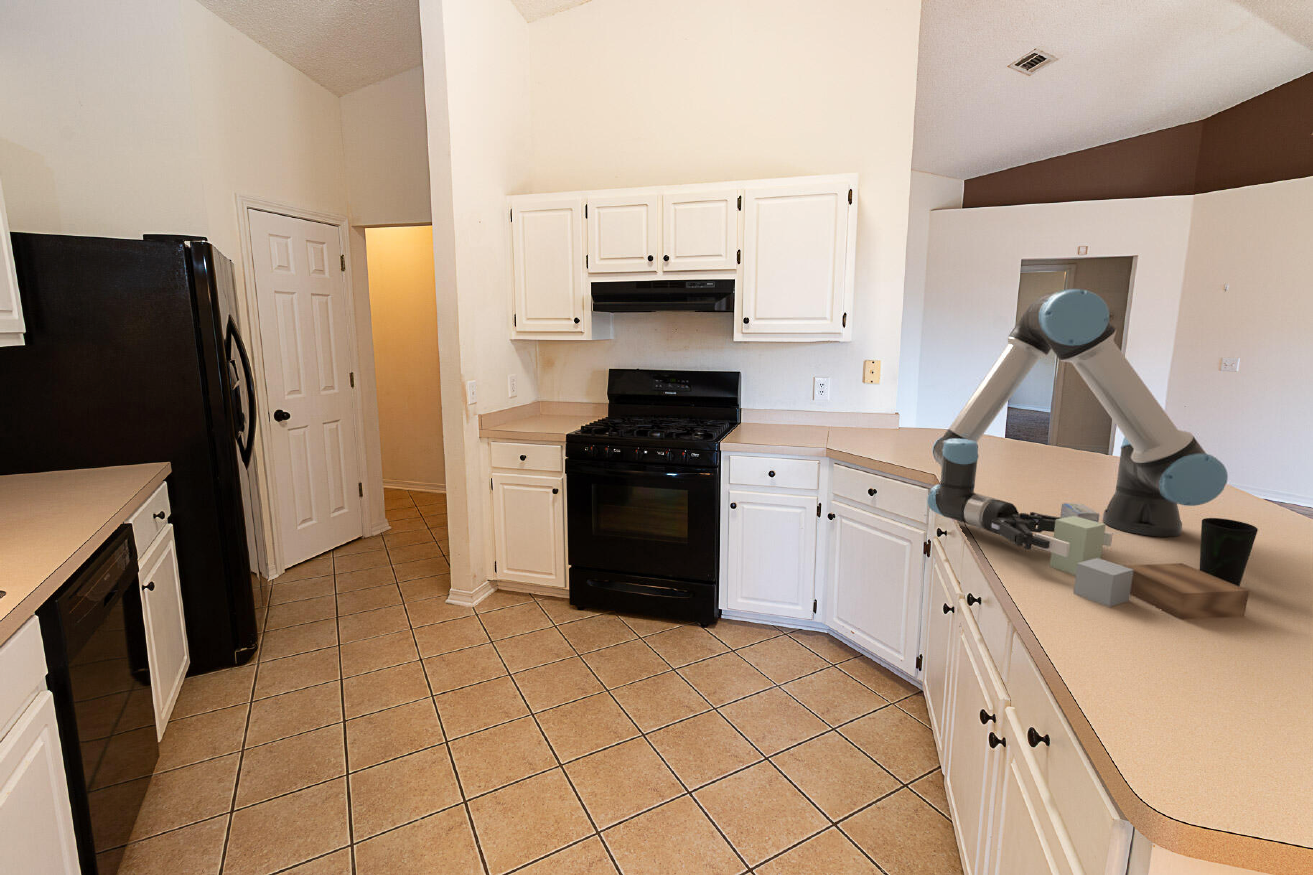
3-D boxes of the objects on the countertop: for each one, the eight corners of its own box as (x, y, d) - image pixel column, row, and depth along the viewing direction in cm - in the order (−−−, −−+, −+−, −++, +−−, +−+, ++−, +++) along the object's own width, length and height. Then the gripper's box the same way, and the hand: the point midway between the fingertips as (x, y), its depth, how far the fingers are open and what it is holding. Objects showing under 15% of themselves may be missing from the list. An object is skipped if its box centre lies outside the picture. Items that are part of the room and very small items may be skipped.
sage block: (1068, 561, 126) (1074, 515, 124) (1098, 572, 120) (1105, 524, 119) (1049, 566, 123) (1055, 519, 121) (1080, 577, 118) (1087, 528, 116)
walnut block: (1177, 588, 114) (1181, 563, 113) (1244, 618, 102) (1249, 590, 101) (1118, 590, 113) (1122, 565, 112) (1178, 621, 101) (1183, 593, 100)
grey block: (1093, 588, 113) (1097, 557, 112) (1128, 601, 108) (1133, 569, 107) (1073, 593, 111) (1077, 563, 110) (1108, 607, 105) (1113, 575, 104)
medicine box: (1095, 551, 131) (1100, 513, 130) (1072, 550, 132) (1077, 512, 130) (1078, 539, 139) (1083, 503, 137) (1056, 538, 140) (1061, 502, 138)
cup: (1232, 579, 117) (1243, 520, 115) (1255, 595, 110) (1268, 532, 108) (1183, 573, 119) (1193, 516, 117) (1203, 589, 112) (1214, 528, 110)
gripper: (1025, 523, 143) (1124, 553, 124) (951, 538, 133) (1046, 573, 114) (1029, 492, 142) (1129, 518, 123) (954, 505, 132) (1051, 535, 113)
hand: (1090, 545), depth 118 cm, fingers open, 13 cm apart
